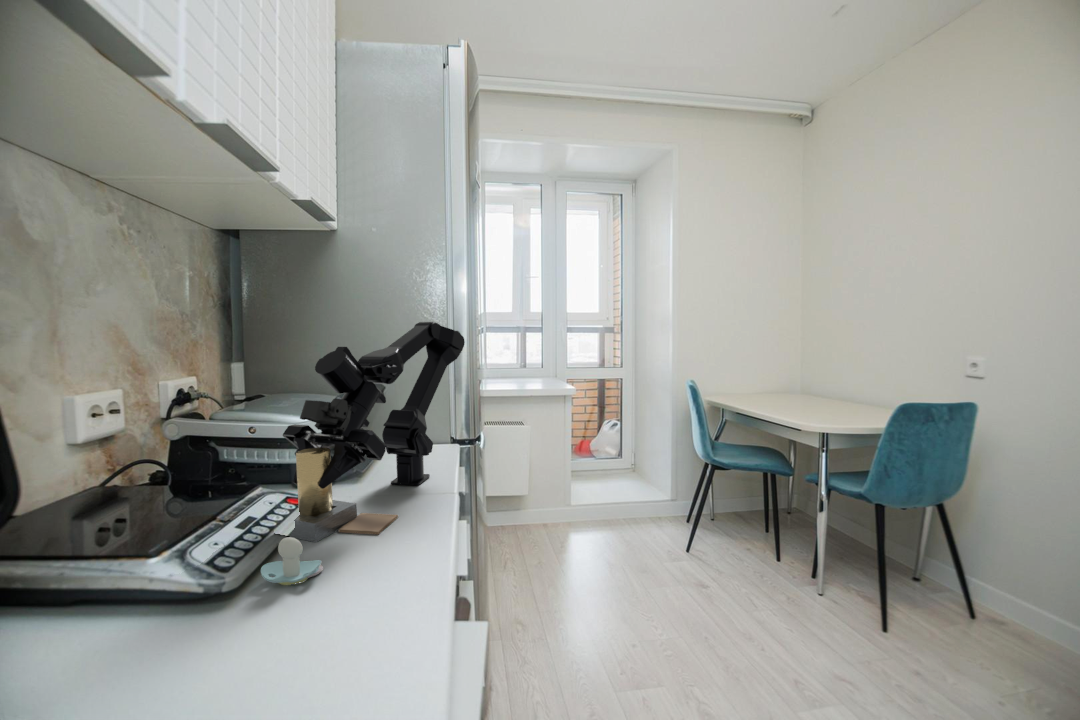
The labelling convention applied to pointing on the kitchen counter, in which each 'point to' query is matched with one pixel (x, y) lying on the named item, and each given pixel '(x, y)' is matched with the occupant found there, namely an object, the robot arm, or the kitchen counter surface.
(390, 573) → the kitchen counter surface
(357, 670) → the kitchen counter surface
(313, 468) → the gold metal cylinder
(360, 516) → the mat
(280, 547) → the pacifier
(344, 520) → the housing
